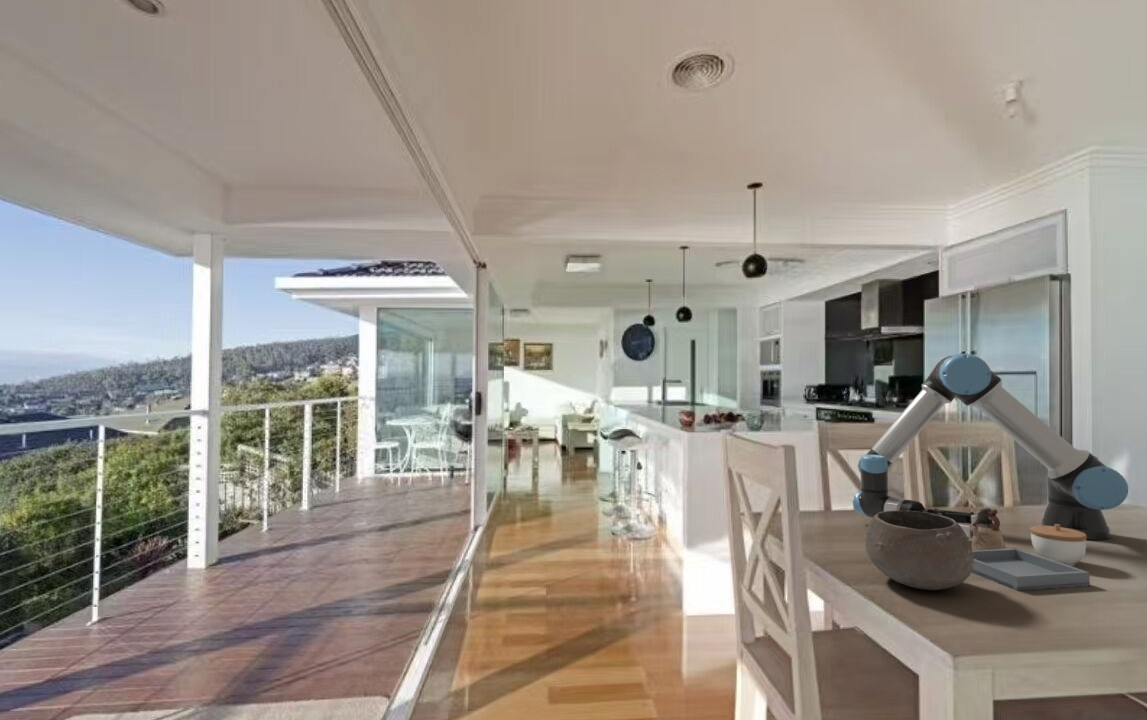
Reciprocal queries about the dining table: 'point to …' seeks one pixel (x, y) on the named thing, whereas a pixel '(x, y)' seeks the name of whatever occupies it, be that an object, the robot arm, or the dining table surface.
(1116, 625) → the dining table surface
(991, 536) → the figurine
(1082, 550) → the lidded jar
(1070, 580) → the tray
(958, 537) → the clay pot
